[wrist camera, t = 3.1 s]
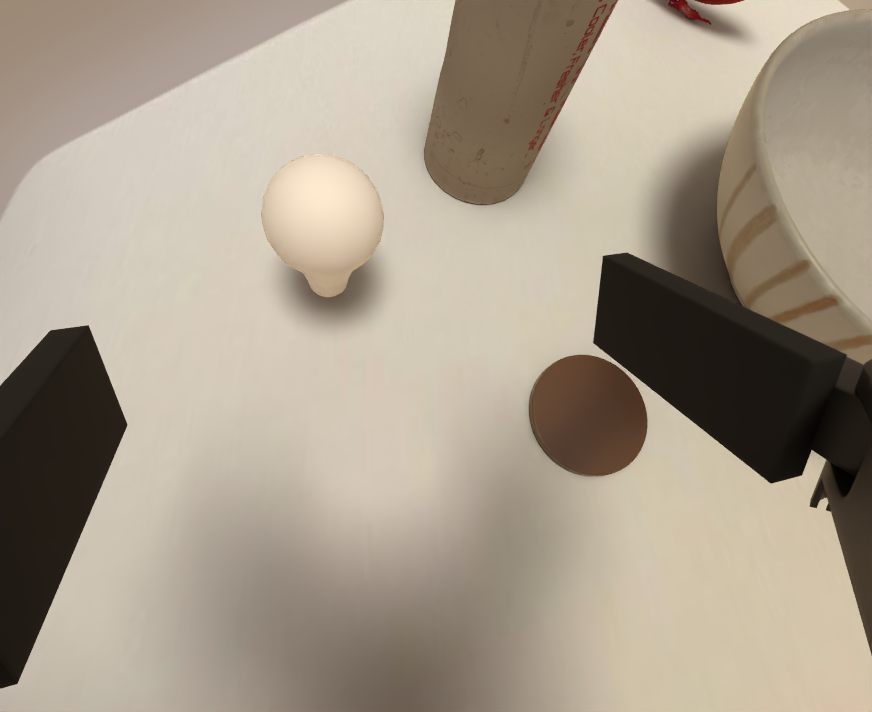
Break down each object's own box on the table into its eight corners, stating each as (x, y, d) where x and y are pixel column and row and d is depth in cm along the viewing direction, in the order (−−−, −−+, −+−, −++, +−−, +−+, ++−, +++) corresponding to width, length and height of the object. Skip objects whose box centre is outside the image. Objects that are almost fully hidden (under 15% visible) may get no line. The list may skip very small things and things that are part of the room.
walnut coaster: (514, 450, 33) (517, 449, 32) (545, 340, 36) (549, 337, 35) (630, 494, 33) (635, 493, 33) (652, 381, 36) (657, 379, 35)
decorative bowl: (602, 363, 36) (722, 287, 24) (674, 92, 45) (786, -53, 34) (946, 507, 37) (1215, 498, 25) (948, 213, 46) (1144, 112, 35)
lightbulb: (356, 341, 33) (362, 257, 23) (265, 309, 33) (229, 210, 23) (387, 262, 35) (405, 153, 25) (301, 231, 35) (283, 108, 25)
